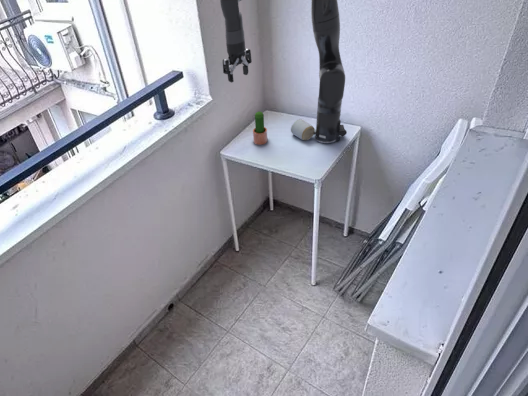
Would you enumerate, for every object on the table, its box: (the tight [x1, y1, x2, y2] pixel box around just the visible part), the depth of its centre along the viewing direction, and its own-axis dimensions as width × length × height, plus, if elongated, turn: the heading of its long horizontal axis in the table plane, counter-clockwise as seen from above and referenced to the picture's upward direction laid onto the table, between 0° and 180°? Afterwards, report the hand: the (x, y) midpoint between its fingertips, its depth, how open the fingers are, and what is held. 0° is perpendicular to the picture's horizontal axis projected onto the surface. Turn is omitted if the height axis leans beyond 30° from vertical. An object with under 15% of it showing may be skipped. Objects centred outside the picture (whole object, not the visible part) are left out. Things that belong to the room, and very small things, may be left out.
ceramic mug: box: [290, 118, 316, 141], centre depth 163 cm, size 11×8×8 cm
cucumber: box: [254, 111, 265, 133], centre depth 163 cm, size 4×4×15 cm
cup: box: [252, 126, 268, 146], centre depth 166 cm, size 6×6×6 cm
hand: (238, 78), depth 157 cm, fingers open, 8 cm apart
